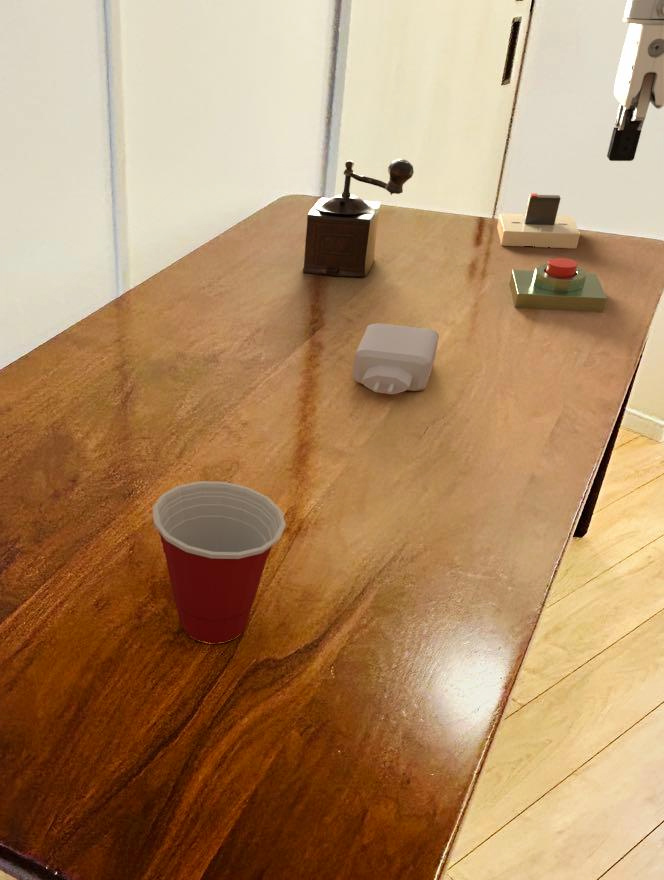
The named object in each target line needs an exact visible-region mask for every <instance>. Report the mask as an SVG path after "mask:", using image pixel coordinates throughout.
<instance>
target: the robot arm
mask: <svg viewBox="0 0 664 880" xmlns="http://www.w3.org/2000/svg"><path fill="white" fill-rule="evenodd" d="M622 17H623V18H622V22H624V23H627V24H629V26H628V29H627V32H626V38H625V41H624V44H623V47H622V52H621V57H620V60H619V64H618V67H617V72H616V77H615V81H614V85H613V96H614V98H615V100H617V102H618V108H617V113H616V118H615V121H614V127H613V130H612V134H611V138H610V141H609V144H608V145H609V146H608V150H607V154H606V157H607V158H608V160H609V161H610V162H632V161H634V159H635V156H636V153H637V150H638V145H639V143H640V138H641V134H642V129H643V126H644V122H645V120H646V117H647V113H648V109H649V106H650V104H651V105H653V107H654V108H655V109H657V110H660V109H662V108H663V107H664V0H627V1H626V5H625V9H624V14H623V16H622Z"/></svg>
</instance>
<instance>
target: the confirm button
mask: <svg viewBox="0 0 664 880" xmlns="http://www.w3.org/2000/svg"><path fill="white" fill-rule="evenodd" d="M547 264H548V265H547V269H546V273H547V274H549V275H552V276H556V277H573V276H575V273H576V269H577V267H578V265H579V264H578V262H577V261H576V260H573V259H570V258H565V257H561V258H560V257H556V258H551V259H549V260H548V262H547Z"/></svg>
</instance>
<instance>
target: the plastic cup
mask: <svg viewBox="0 0 664 880" xmlns="http://www.w3.org/2000/svg"><path fill="white" fill-rule="evenodd" d="M152 515H153V516H152V517H153V525H154V527H155V529H156V530H157V531H158V534H159V536H160V541H161V543H162V551H163V553H164V557H165V561H166V566H167V570H168V576H169V582H170V585H171V591H172V596H173V601H174V602H175V604H176V610H177V615H178V621H179V624H180V625H181V628H182V627H183V628H184V630H185V631H186V633H187V634H188V635H190V636H192V637H193V638H195V639H197V640H200V641H205V642H208V643H209V642H210V643H219V642H225V641H228V640H231V639H234V638H235V637H237V636H238V635H239V634H240V633H242V632H244V630H245V629H246V627H247V625H248V622H249V619H250V614H251V611H252V608H253V604H254V601H255V599H256V597H257V593H258V591H259V590H258V589H259V587H260V584H261V580H262V576H263V573H264V570H265V566H266V562H267V559H268V557H269V555H270V552H271V550H272V549H273V547H274V546H275V545H277V544H278V543H279V541H280V539H281V537H282V536H283V535H282V534H283V532H284V530H285V528H286V526H287V523H286V520H285V517H284V514H283V510H282V509H281V508H280V507H279V506H278V505H277V504H276V503H275V502H274V501H273V500H272V499H271V498H270V497H269V496H267V495H265V494H263V493H261V492H259V491H257V490H254V489H253V488H251V487H248V486H245V485H241V484H236V483H232V482H227V481H209V480H208V481H207V480H200V481H199V480H198V481H195V482H190V483H189V482H188V483H185V484H180V485H177V486H175V487H173V488H171V489H169V490H168V491H165V492H164V493H162V494H161V495H160V496H159V498H158V499H157V500H156V502H155V504H154V505H153V506H152ZM184 630H183V631H184ZM185 631H184V632H185ZM186 633H185V634H186ZM187 634H186V635H187ZM242 634H243V633H242ZM188 635H187V636H188Z"/></svg>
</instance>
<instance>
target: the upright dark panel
mask: <svg viewBox="0 0 664 880" xmlns="http://www.w3.org/2000/svg"><path fill="white" fill-rule="evenodd" d="M561 199H562V198H561V195H558V194H538V193H533V192H532V193H531V192H530V194H529V196H528V199H527V204H526V209H525V213H524V214H525V217H524V223H525V224H544V225H554V224H555V220H556V215H558V210H559V207H560V204H561V203H560V202H561Z"/></svg>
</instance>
